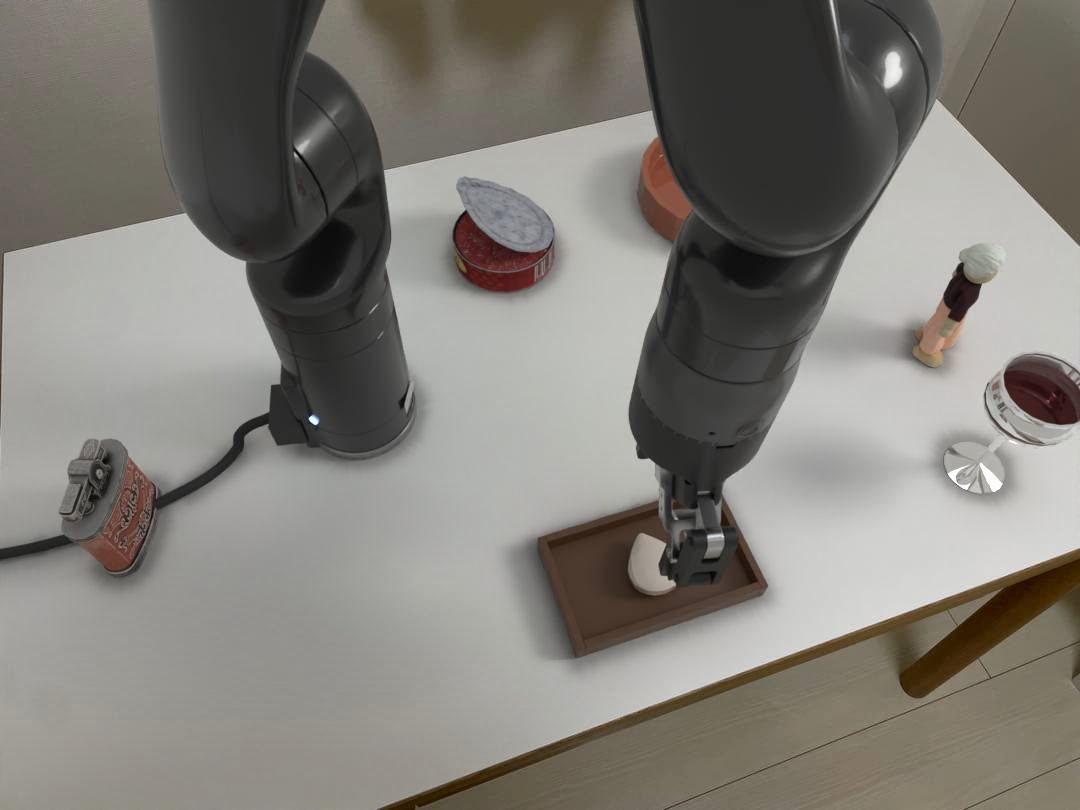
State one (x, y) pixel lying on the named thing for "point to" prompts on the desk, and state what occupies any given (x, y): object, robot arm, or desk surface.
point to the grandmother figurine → (957, 301)
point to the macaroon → (648, 566)
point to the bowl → (661, 194)
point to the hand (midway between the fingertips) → (662, 510)
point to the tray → (609, 596)
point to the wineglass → (1019, 416)
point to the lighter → (109, 506)
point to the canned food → (501, 237)
